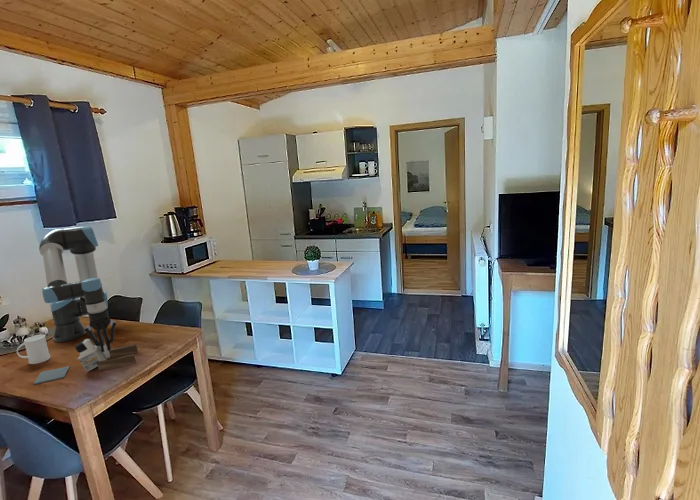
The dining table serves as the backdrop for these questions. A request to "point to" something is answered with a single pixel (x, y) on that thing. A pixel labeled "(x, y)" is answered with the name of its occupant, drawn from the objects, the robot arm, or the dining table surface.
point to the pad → (51, 375)
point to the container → (89, 354)
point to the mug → (35, 349)
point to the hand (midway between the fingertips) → (108, 357)
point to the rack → (120, 360)
